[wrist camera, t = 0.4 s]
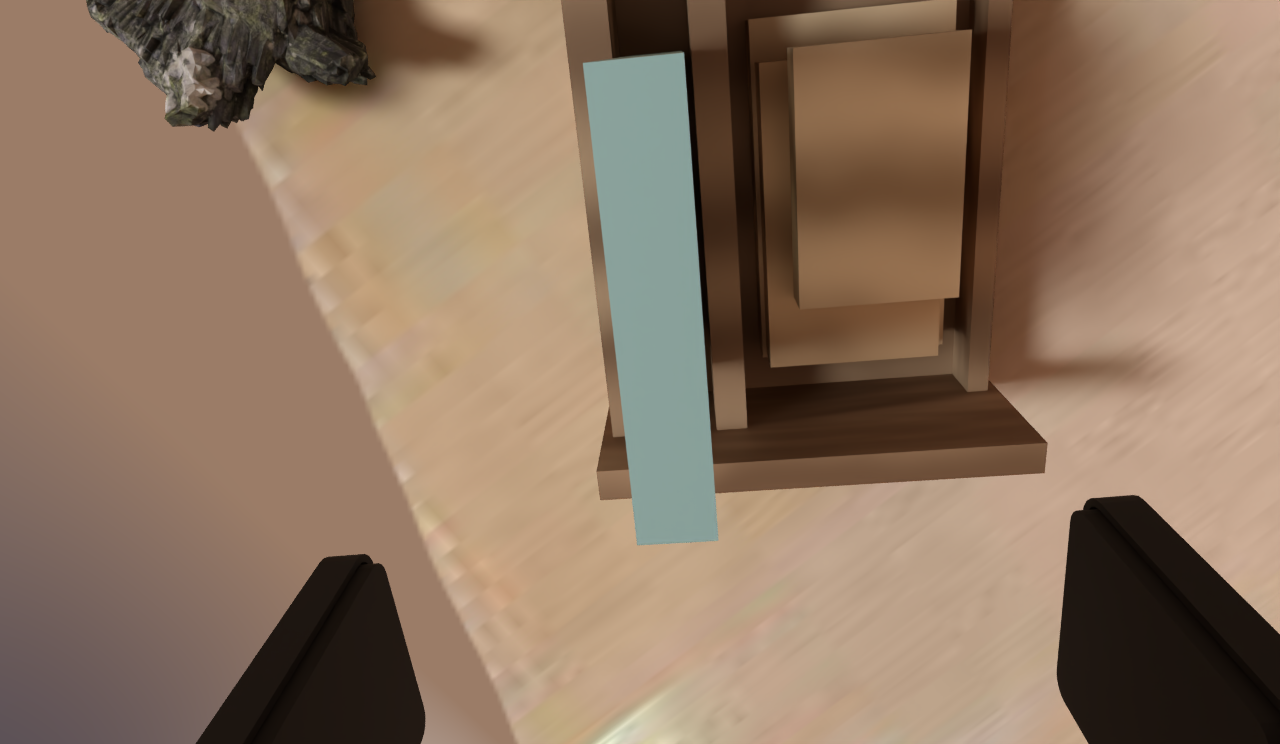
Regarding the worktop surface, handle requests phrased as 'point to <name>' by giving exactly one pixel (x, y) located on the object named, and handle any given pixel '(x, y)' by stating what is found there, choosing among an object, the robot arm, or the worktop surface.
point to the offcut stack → (857, 179)
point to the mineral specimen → (233, 49)
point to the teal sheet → (654, 290)
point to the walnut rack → (736, 370)
